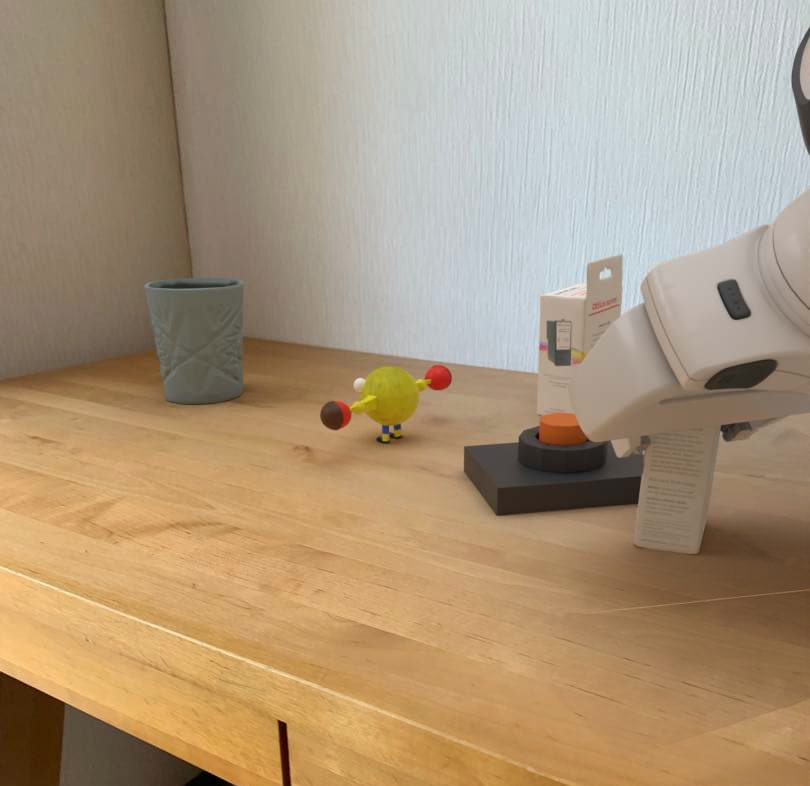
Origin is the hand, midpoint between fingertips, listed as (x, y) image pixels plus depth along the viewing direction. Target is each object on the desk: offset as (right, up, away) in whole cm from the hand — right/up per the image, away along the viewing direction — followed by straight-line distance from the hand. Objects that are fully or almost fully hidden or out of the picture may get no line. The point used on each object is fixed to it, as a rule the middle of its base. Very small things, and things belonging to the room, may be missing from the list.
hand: (676, 439), depth 57 cm
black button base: (-5, -2, +11) cm, 13 cm away
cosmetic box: (0, -6, +2) cm, 7 cm away
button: (-6, +1, +10) cm, 11 cm away
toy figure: (-19, +2, +23) cm, 30 cm away
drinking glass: (-40, +9, +41) cm, 58 cm away
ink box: (0, +7, +32) cm, 32 cm away
